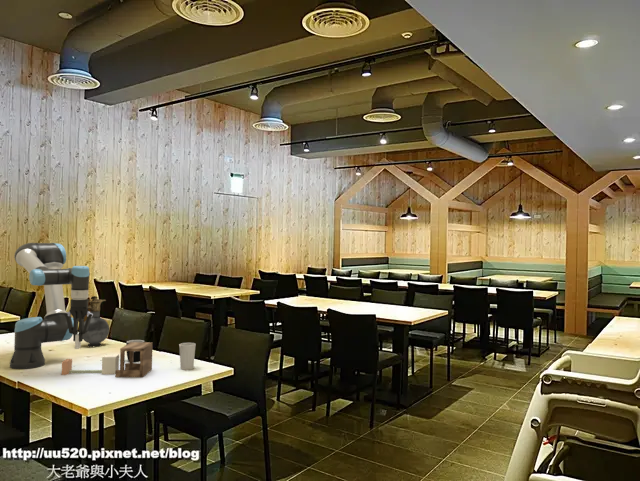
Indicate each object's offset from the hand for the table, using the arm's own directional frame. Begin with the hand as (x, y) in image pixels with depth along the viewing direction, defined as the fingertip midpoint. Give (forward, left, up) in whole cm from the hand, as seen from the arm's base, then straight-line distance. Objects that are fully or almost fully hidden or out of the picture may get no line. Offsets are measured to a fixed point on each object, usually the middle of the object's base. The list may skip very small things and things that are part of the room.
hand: (77, 348), depth 239 cm
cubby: (+27, -1, -12) cm, 29 cm away
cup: (+50, +9, -12) cm, 52 cm away
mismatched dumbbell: (+6, 0, -12) cm, 13 cm away
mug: (+20, +26, -12) cm, 35 cm away
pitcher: (-17, +63, -12) cm, 67 cm away
